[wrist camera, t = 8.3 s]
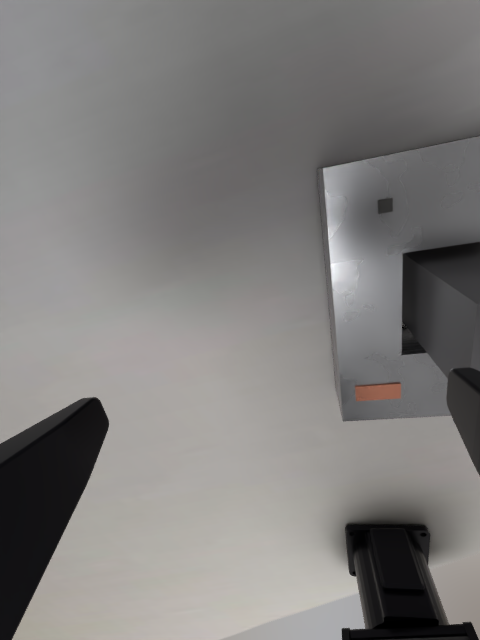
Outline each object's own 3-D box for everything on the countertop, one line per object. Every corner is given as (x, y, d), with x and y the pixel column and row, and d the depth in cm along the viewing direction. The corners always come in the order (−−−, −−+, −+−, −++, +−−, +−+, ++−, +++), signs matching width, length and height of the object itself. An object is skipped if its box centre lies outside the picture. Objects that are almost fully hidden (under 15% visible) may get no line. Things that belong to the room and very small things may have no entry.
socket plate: (538, 376, 20) (579, 409, 17) (336, 390, 22) (343, 422, 19) (592, 112, 14) (667, 97, 11) (316, 169, 17) (323, 168, 14)
